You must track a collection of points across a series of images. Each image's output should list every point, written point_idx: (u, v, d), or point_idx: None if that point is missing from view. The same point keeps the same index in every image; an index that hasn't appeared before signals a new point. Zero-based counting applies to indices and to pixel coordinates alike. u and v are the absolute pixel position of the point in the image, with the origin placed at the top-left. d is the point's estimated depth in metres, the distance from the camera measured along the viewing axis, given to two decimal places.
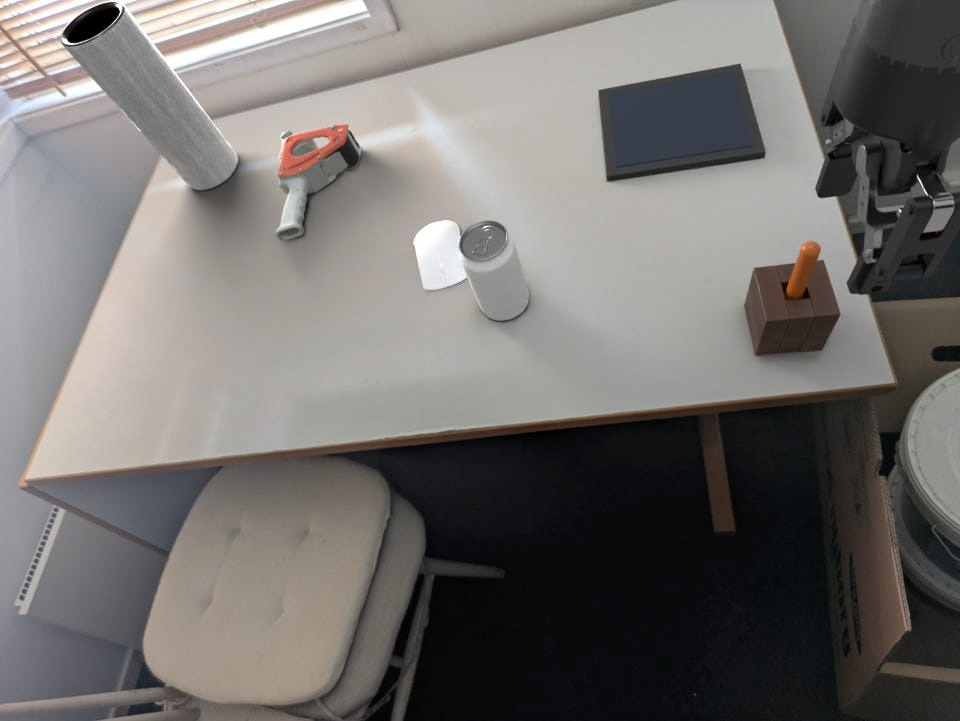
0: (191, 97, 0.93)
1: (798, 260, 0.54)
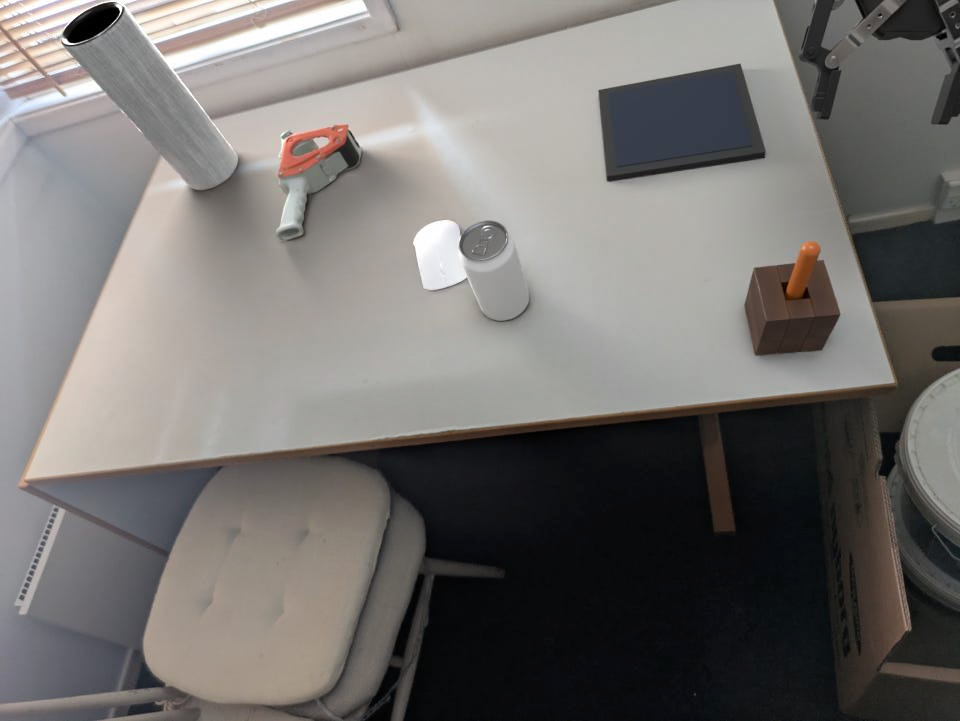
0: (191, 97, 0.93)
1: (798, 260, 0.54)
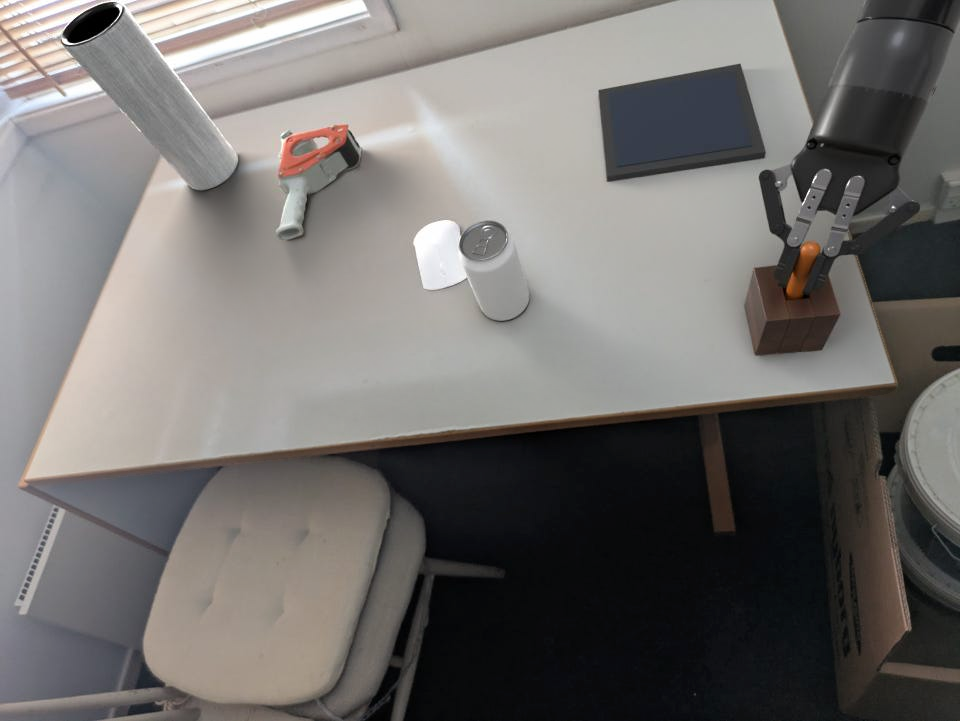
0: (191, 97, 0.93)
1: (798, 260, 0.54)
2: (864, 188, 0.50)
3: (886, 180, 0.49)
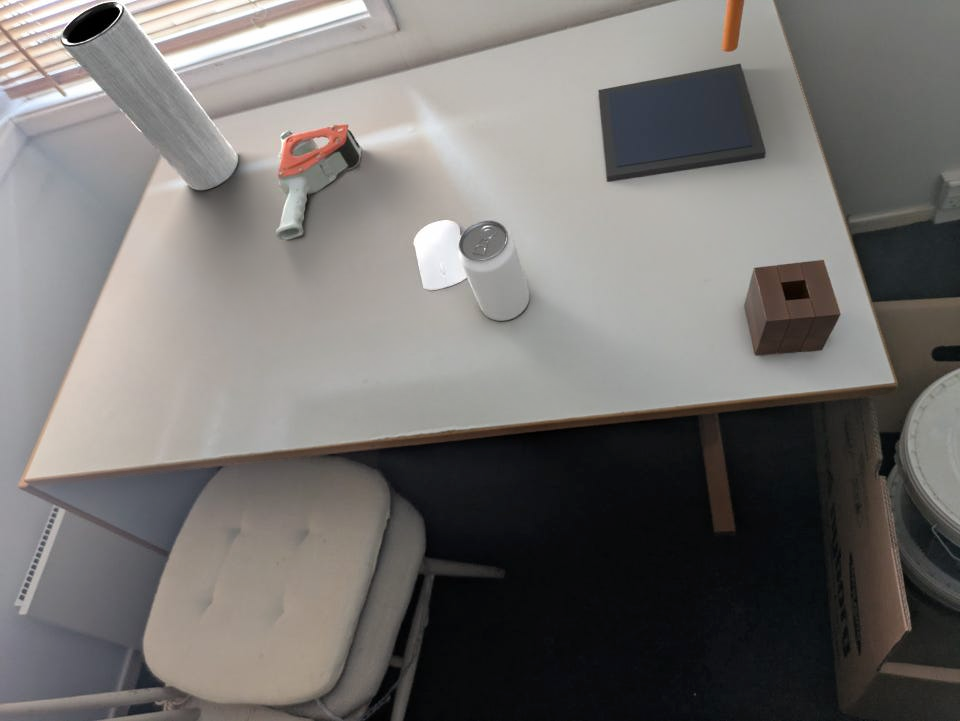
0: (191, 97, 0.93)
1: None
2: None
3: None
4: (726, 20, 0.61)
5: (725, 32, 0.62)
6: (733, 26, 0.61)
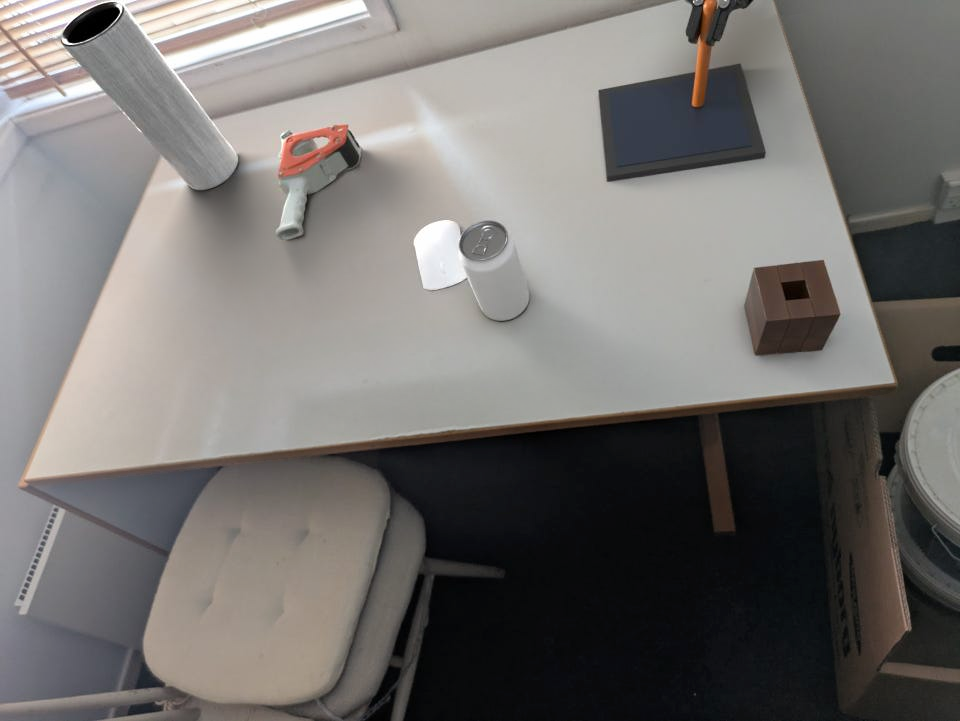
0: (191, 97, 0.93)
1: (702, 16, 0.72)
2: None
3: None
4: (695, 83, 0.79)
5: (694, 92, 0.80)
6: (700, 88, 0.79)
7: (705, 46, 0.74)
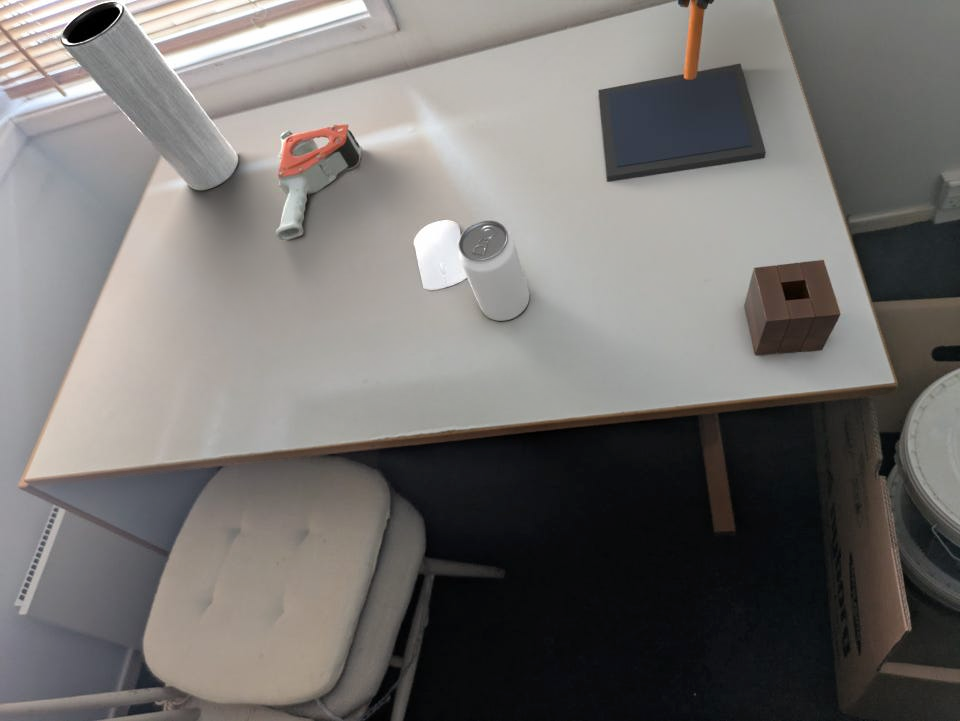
0: (191, 97, 0.93)
1: None
2: None
3: None
4: (687, 52, 0.73)
5: (686, 63, 0.74)
6: (692, 58, 0.73)
7: (697, 10, 0.68)
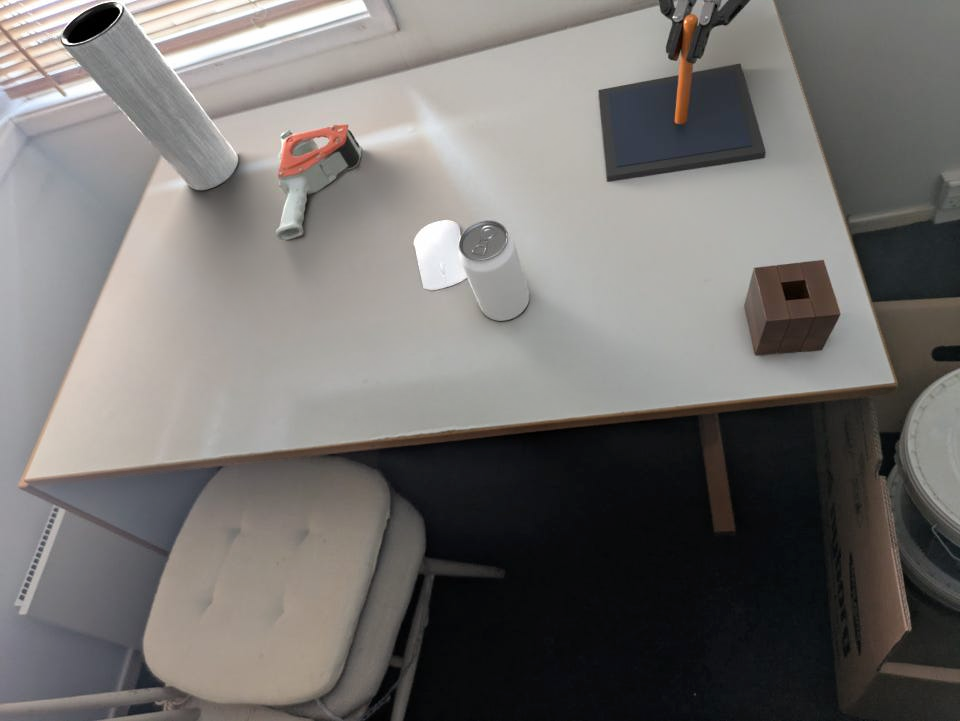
0: (191, 97, 0.93)
1: (683, 33, 0.70)
2: None
3: None
4: (677, 100, 0.77)
5: (676, 109, 0.78)
6: (682, 105, 0.77)
7: (686, 63, 0.72)
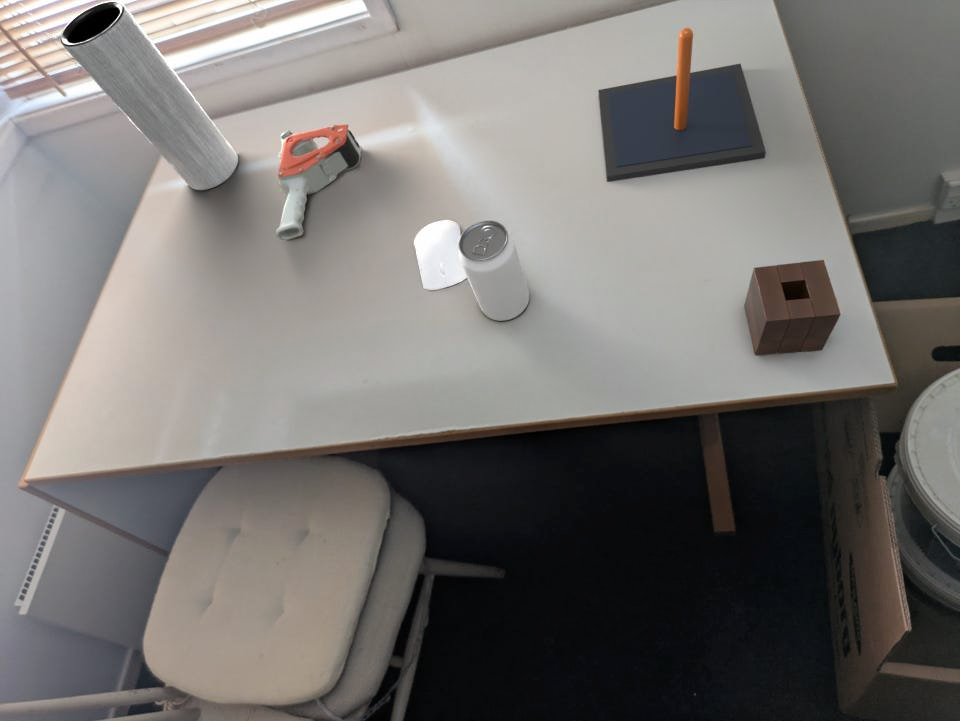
0: (191, 97, 0.93)
1: (678, 46, 0.71)
2: None
3: None
4: (675, 108, 0.78)
5: (675, 116, 0.79)
6: (681, 112, 0.78)
7: (683, 74, 0.73)
